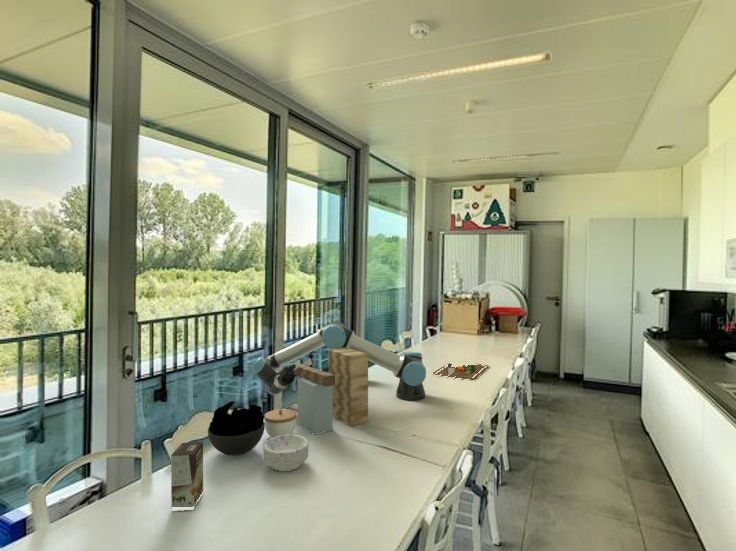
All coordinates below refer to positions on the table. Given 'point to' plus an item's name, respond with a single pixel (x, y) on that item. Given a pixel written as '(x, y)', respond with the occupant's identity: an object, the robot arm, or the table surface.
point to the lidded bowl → (280, 422)
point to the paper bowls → (285, 452)
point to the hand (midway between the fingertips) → (304, 362)
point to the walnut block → (315, 375)
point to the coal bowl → (236, 429)
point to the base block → (315, 406)
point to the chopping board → (462, 371)
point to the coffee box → (187, 474)
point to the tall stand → (349, 385)
